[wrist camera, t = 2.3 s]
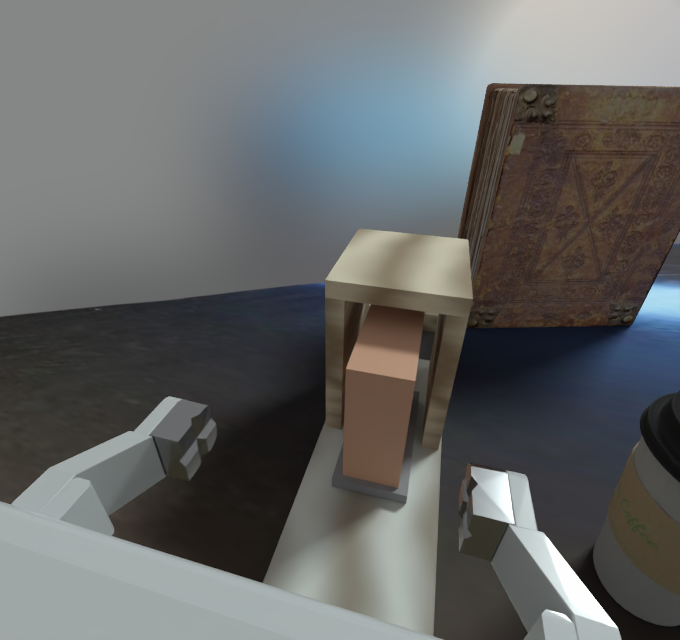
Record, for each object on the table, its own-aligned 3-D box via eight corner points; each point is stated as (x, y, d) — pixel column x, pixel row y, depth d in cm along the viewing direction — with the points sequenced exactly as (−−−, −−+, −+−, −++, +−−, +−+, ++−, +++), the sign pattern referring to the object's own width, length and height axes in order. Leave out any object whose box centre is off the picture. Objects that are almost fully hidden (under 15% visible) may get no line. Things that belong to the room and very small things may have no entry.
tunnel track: (444, 331, 54) (468, 207, 45) (419, 830, 18) (516, 727, 9) (368, 320, 56) (375, 200, 47) (210, 744, 20) (111, 589, 11)
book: (463, 328, 55) (518, 84, 39) (445, 297, 63) (485, 83, 47) (632, 326, 56) (752, 88, 40) (594, 296, 64) (682, 87, 48)
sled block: (418, 399, 40) (435, 297, 33) (406, 503, 30) (426, 388, 23) (361, 388, 41) (368, 288, 35) (331, 485, 31) (332, 371, 25)
